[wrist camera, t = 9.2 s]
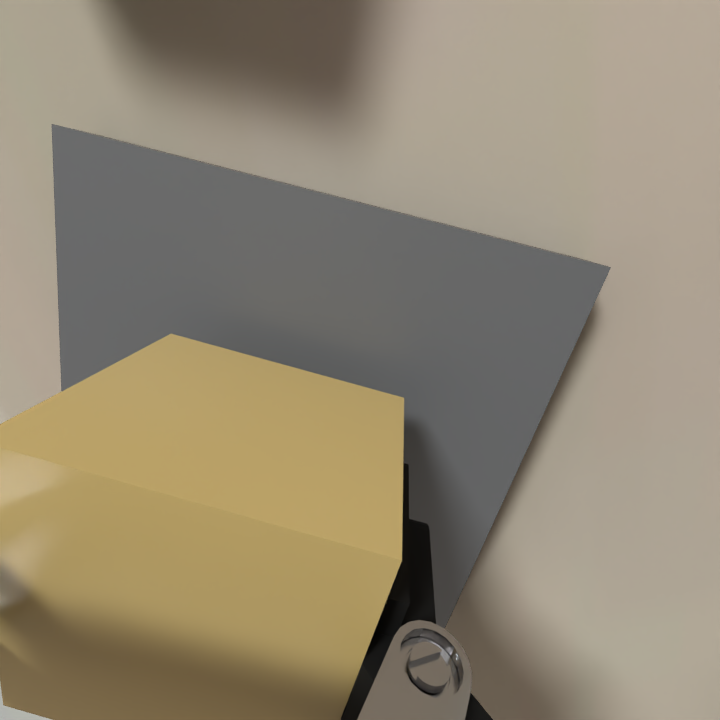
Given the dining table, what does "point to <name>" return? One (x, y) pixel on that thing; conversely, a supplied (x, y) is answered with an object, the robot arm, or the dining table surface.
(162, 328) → the base plate
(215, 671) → the brick bottom
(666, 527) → the dining table surface
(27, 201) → the dining table surface
